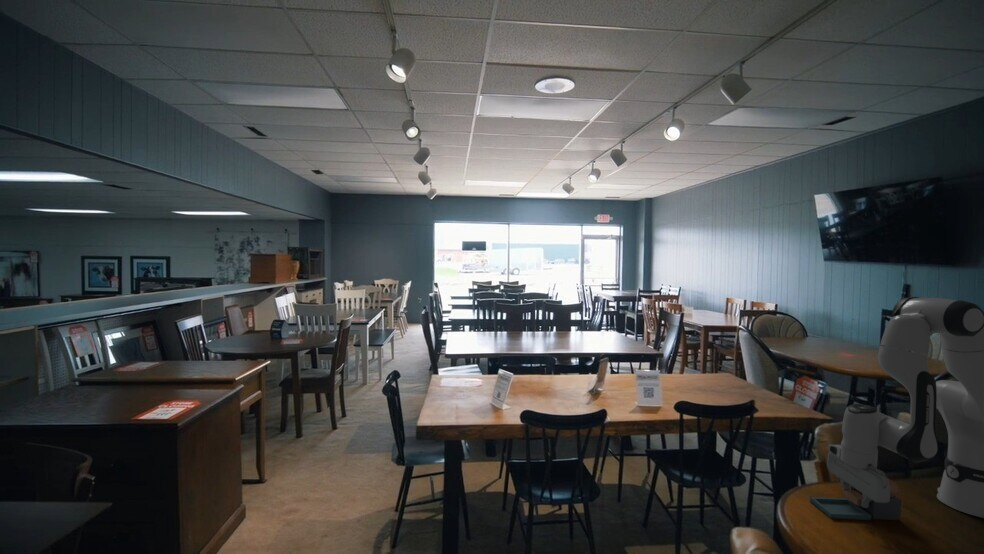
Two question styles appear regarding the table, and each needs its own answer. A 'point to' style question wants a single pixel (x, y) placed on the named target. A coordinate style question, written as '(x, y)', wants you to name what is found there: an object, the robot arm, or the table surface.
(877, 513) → the dispenser
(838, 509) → the tray
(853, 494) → the ticket
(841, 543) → the table surface
